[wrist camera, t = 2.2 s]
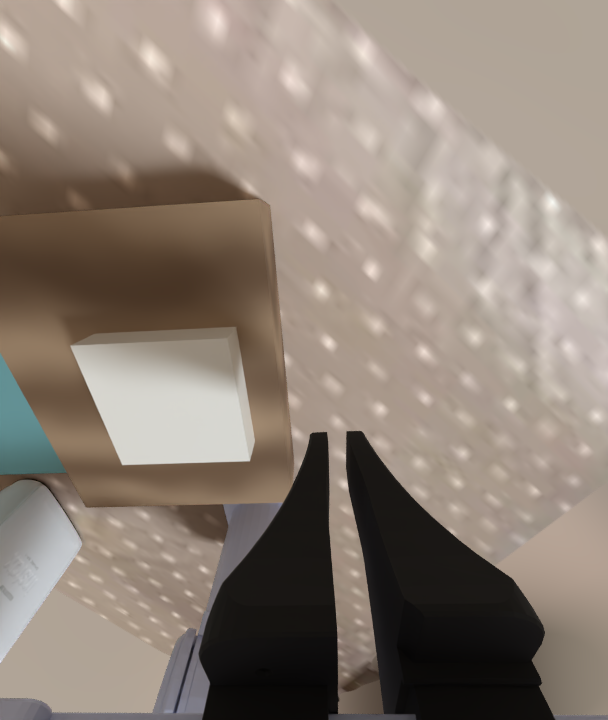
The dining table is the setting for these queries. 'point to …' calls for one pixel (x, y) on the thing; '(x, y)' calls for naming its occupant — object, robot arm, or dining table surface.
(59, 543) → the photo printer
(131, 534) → the dining table surface
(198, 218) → the wood grain panel
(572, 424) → the dining table surface
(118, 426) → the coaster
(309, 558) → the robot arm
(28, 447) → the mat
